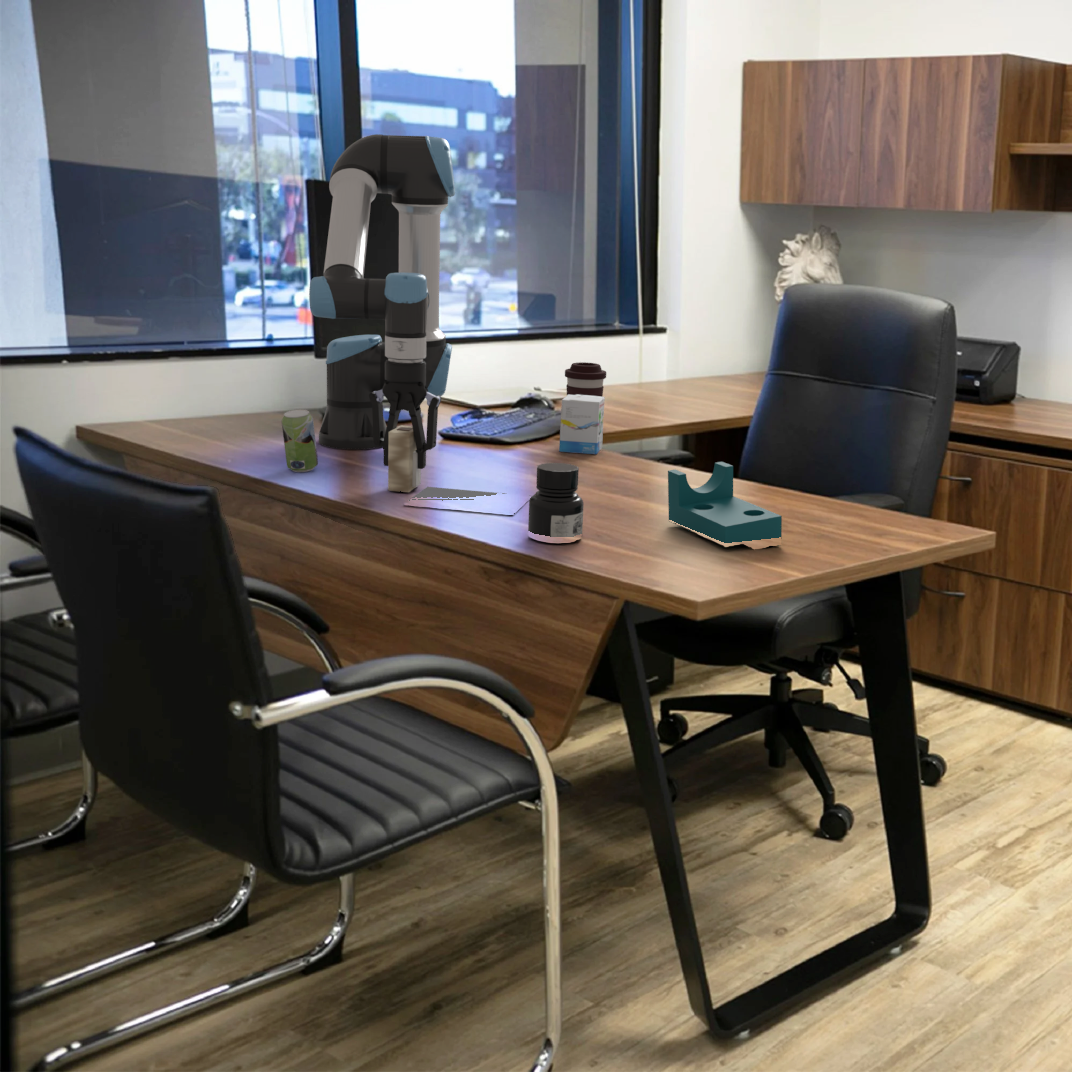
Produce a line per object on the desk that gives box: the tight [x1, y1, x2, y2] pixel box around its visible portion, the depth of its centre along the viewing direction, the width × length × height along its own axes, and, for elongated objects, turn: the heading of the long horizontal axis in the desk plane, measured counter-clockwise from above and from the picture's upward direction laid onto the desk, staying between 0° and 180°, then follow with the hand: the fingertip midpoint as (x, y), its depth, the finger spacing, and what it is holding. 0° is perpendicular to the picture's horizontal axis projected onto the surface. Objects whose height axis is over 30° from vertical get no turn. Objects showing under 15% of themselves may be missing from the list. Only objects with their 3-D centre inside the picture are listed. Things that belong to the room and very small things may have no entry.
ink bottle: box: [527, 462, 584, 537], centre depth 214 cm, size 10×9×12 cm
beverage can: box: [281, 408, 319, 473], centre depth 256 cm, size 6×7×12 cm
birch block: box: [387, 424, 417, 493], centre depth 244 cm, size 4×7×11 cm, turn 167°
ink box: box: [558, 394, 606, 455], centre depth 287 cm, size 8×8×12 cm
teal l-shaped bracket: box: [667, 461, 783, 543], centre depth 219 cm, size 18×11×10 cm, turn 25°
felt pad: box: [408, 486, 506, 501], centre depth 237 cm, size 20×14×1 cm
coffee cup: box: [564, 361, 607, 397], centre depth 315 cm, size 10×10×15 cm
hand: (404, 483), depth 245 cm, fingers closed on birch block, 4 cm apart
